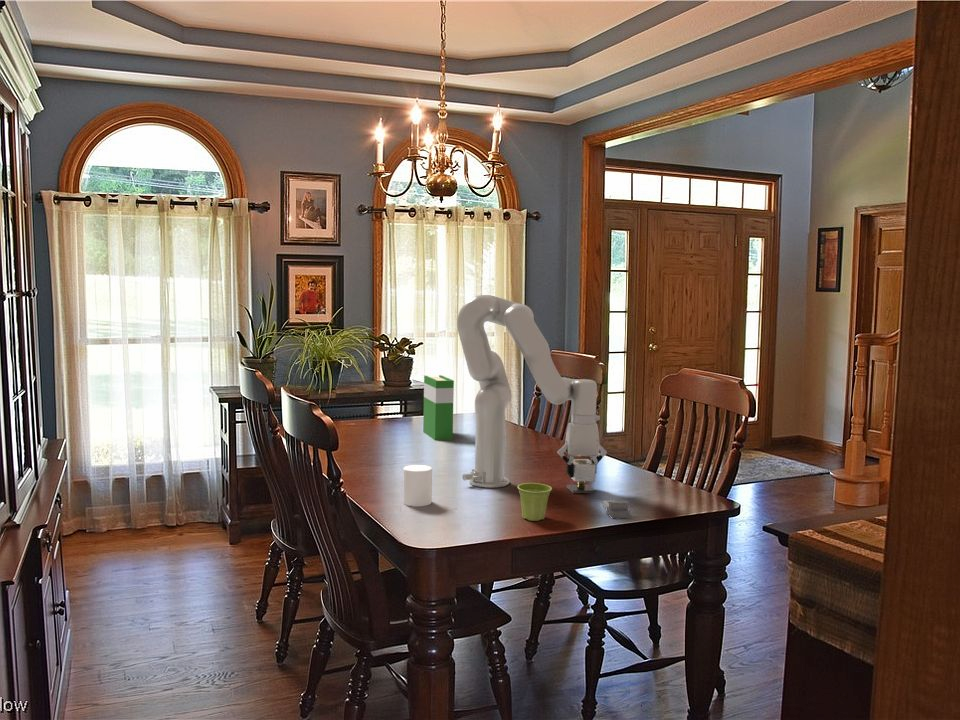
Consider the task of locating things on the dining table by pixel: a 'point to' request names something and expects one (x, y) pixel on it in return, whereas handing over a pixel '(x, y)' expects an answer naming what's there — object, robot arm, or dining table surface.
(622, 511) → the grey boxy piece
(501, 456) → the robot arm
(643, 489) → the dining table surface
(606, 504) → the slack link
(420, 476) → the white cylinder
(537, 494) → the plant pot
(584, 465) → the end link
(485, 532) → the dining table surface
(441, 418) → the hardback book
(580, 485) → the yellow peg stand
